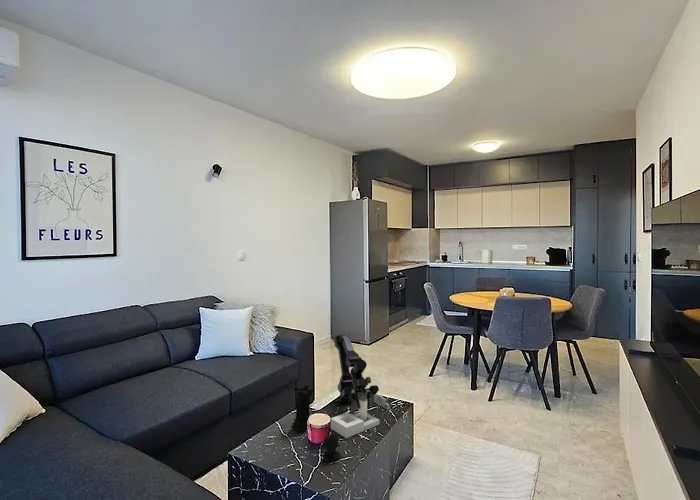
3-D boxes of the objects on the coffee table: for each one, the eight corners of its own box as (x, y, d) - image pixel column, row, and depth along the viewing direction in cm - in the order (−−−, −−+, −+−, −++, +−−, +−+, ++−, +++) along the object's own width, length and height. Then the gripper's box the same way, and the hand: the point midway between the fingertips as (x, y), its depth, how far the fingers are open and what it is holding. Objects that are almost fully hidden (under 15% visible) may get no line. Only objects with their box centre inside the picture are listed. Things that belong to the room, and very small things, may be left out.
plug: (356, 419, 195) (357, 396, 194) (361, 416, 198) (361, 393, 198) (364, 422, 192) (364, 398, 192) (368, 419, 196) (369, 395, 196)
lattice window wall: (389, 409, 213) (390, 398, 213) (387, 410, 212) (387, 399, 212) (375, 401, 223) (376, 391, 222) (373, 402, 222) (373, 392, 221)
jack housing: (330, 428, 189) (330, 418, 189) (363, 416, 204) (363, 406, 204) (346, 438, 180) (346, 427, 180) (379, 424, 195) (379, 414, 195)
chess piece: (297, 434, 182) (299, 392, 182) (291, 427, 189) (292, 386, 189) (313, 430, 187) (314, 389, 186) (306, 423, 193) (307, 383, 193)
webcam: (330, 450, 170) (330, 427, 169) (344, 455, 166) (345, 432, 165) (319, 458, 163) (319, 434, 163) (333, 464, 159) (334, 440, 159)
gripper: (344, 372, 196) (350, 403, 185) (378, 369, 201) (386, 399, 191) (339, 382, 203) (344, 412, 193) (372, 379, 209) (379, 408, 199)
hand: (363, 407), depth 194 cm, fingers closed on plug, 4 cm apart
